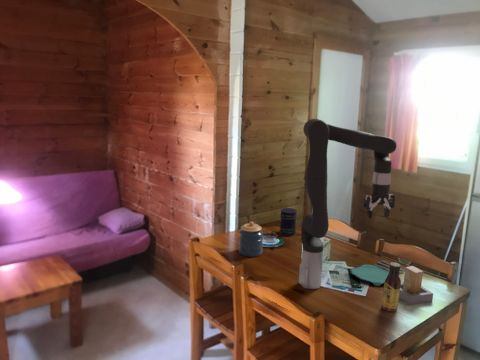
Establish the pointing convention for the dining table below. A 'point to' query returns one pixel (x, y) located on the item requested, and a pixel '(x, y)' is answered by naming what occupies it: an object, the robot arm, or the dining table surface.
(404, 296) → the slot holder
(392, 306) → the sauce bottle
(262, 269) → the dining table surface
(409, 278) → the skincare box
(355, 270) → the teal flat sheet
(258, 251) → the canister
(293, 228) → the storage jar
